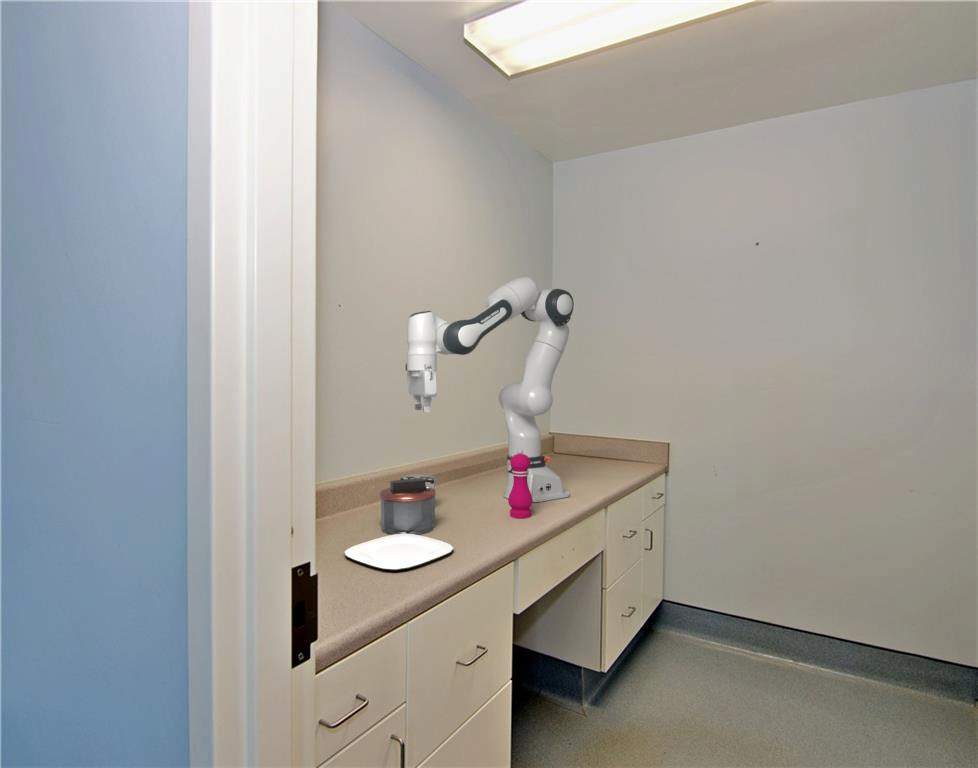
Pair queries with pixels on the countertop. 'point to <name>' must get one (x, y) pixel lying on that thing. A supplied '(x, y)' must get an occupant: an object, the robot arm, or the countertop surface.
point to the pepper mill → (520, 487)
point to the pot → (408, 517)
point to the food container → (428, 479)
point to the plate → (398, 551)
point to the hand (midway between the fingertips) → (422, 410)
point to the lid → (407, 491)
